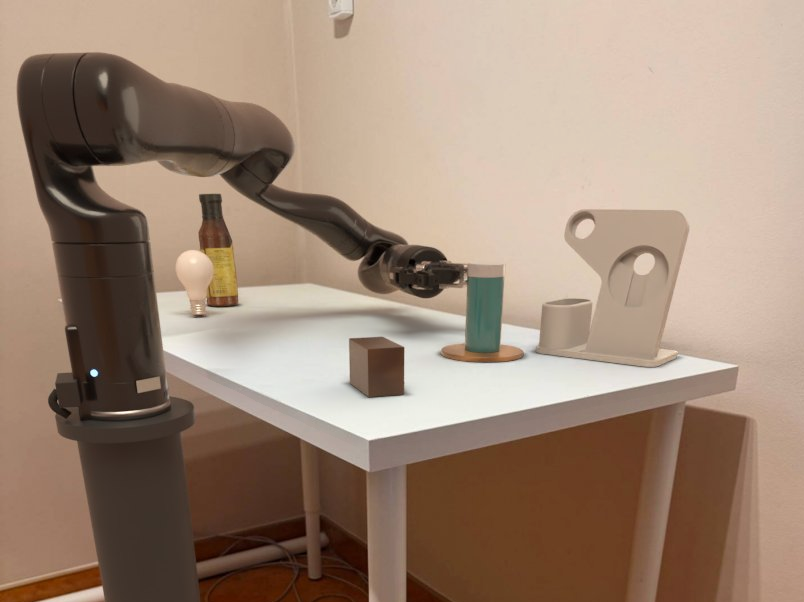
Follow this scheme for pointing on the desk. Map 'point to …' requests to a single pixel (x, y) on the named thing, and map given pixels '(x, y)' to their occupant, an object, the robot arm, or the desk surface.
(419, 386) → the desk surface
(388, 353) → the walnut block
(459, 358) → the cork coaster
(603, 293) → the phone holder
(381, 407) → the desk surface
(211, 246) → the sauce bottle
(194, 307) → the lightbulb
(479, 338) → the salt shaker
